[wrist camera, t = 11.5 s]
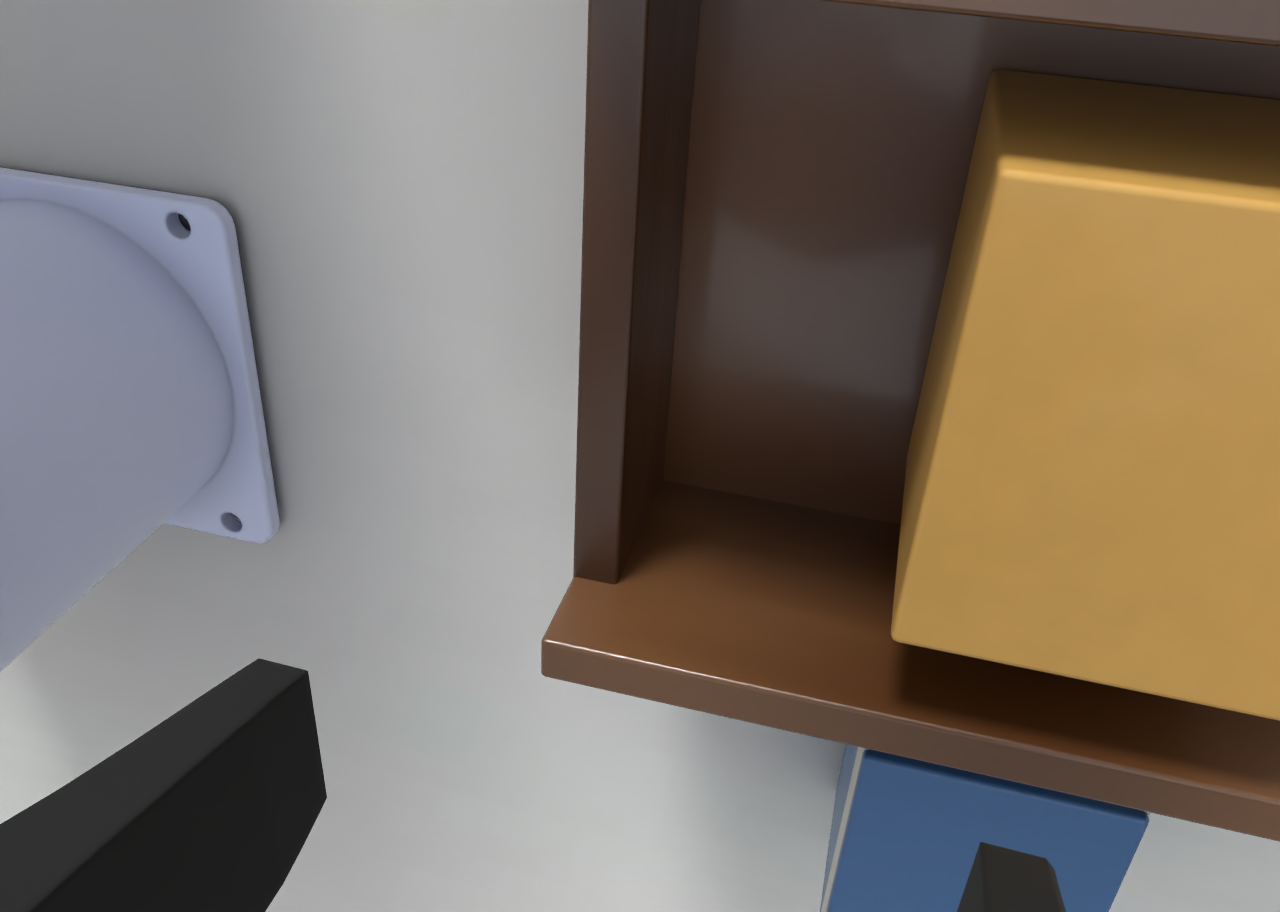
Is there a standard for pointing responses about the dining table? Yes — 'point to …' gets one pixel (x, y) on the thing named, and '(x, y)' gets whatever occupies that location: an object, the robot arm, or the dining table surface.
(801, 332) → the shelf
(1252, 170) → the ochre carton
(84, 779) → the robot arm
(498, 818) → the dining table surface
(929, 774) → the blue book
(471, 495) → the dining table surface
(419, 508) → the dining table surface
